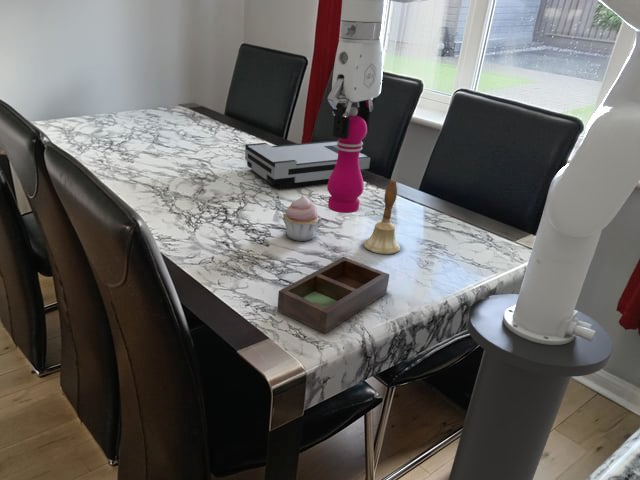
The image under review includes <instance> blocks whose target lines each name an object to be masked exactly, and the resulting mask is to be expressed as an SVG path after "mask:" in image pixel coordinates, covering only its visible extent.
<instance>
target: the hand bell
mask: <svg viewBox="0 0 640 480" xmlns="http://www.w3.org/2000/svg"><path fill="white" fill-rule="evenodd" d="M397 196H398V187H397V180H395V179H390V180H389V183H388V184H387V186H386V188H385V191H384V199H383V201H384V211H383V215H382V219H381V221H378V222H376V223H375V225H374V228H373V231H372V233H371V235H370V237H369V238H367V239H365V241H364V243H363V246H364V248H365V249H367V250H368V251H370V252H373V253H376V254H382V255H392V254H393V255H394V254H396V253H398V252H399V251H400V250H401V246H400V244H399V243H398V242H397V240H396V226H395V225H394V224H393V223H392V222H391V216H392V210H393V206H394V204H395V203H396V200H397Z"/></svg>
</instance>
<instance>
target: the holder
mask: <svg viewBox="0 0 640 480" xmlns="http://www.w3.org/2000/svg"><path fill="white" fill-rule="evenodd" d="M389 279H390V273H387V272H384V271H381V270H380V269H377V268H374V267H371V266H370V265H369V266H368V265H366V264H363V263H360V262H358V261H355V260H353V259H350V258H347V257H345V256H342V257H339V258H338V259H336V260H334V261H332V262H331V263H328V264H326V265H325V266H323V267H321V268H319V269H317V270H316V271H314V272H312V273H310V274H308V275H306V276H303V278H300V279H298V280H297V281H295V282H292V283H291V284H289V285H287V286H285V287H284V288H282V289H280V290H278V294H277V312H278V313H281V314H283V315H285V316H287V317H289V318H291V319H293V320H295V321H297V322H299V323H301V324H304V325H306V326H308V327H310V328H312V329H314V330H315V331H318V332H320V333H322V334H324V335H326V334H327V333H329V332H330V331H332V330H334V329H335V328H336V327H338V326H340V325H341V324H342V323H344V322H346V321H347V320H348V319H349V318H352V317H353V316H354V315H356V314H358V313H359V312H360V311H362V310H364V309H365V308H367V307H368V306H369V305H371V304H373V303H374V302H376V301H377V300H379V299H380V298H382V297H384V296H385V295H386V294H387V292H388V286H389V281H390V280H389Z"/></svg>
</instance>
